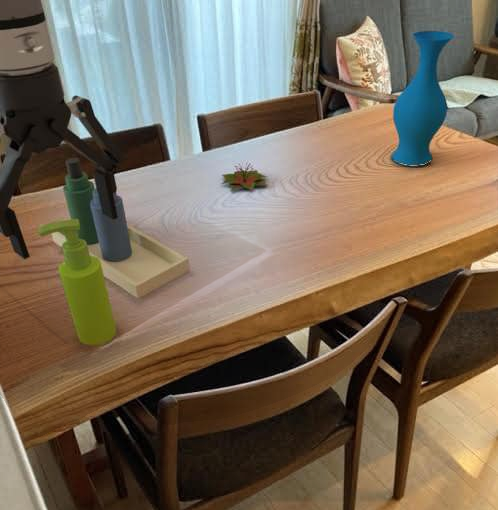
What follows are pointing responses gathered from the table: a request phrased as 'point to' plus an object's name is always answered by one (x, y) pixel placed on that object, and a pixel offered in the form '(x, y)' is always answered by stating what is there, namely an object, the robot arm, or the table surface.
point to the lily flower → (244, 179)
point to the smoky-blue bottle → (111, 230)
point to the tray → (139, 263)
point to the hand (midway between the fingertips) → (68, 234)
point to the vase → (421, 103)
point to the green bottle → (80, 200)
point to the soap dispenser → (83, 285)
